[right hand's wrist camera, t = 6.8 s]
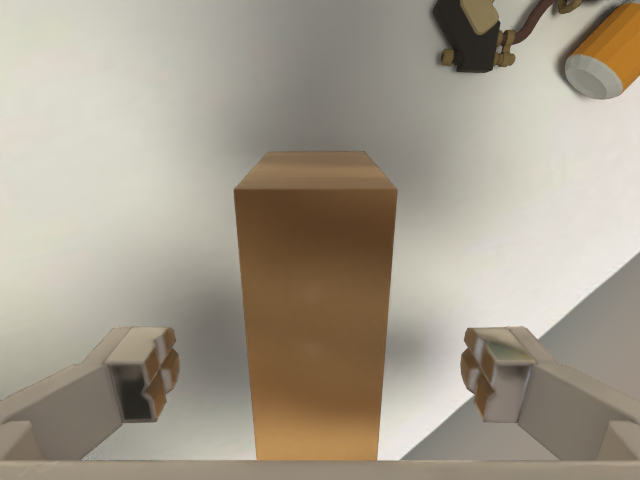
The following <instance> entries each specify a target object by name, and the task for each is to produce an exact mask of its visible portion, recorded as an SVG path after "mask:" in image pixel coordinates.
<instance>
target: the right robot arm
mask: <svg viewBox="0 0 640 480" xmlns="http://www.w3.org/2000/svg"><path fill="white" fill-rule="evenodd" d="M175 342H176V338H175V333H174V330H173V329H172V328H171V327H115V328H113V329H112V330H111V331H110V332H109V333H108V334H107V335H106V336H105V338H104V339H103V340H102V341H101V342H100V343H99V344H98V345H97V346H96V347H95V349H94V350H93V351H92V352H91V353H90V354H89V355H88V356H87V357H86V358H85V359H84V361H83V362H82V363H81V364H74V365H72V366H70V367H68V368H66V369H63V370H61V371H59V372H57V373H55V374H53V375H51V376H49V377H47V378H45V379H43V380H41V381H39V382H37V383H35V384H33V385H31V386H29V387H27V388H25V389H23V390H21V391H19V392H17V393H15V394H13V395H11V396H9V397H7V398H5V399H3V400H1V401H0V480H640V401H639V400H637V399H635V398H633V397H631V396H629V395H627V394H625V393H623V392H621V391H619V390H617V389H615V388H613V387H611V386H609V385H607V384H605V383H603V382H601V381H599V380H597V379H595V378H593V377H591V376H589V375H587V374H585V373H583V372H581V371H578V370H576V369H574V368H572V367H570V366H568V365H566V364H559V363H558V362H557V361H556V360H555V358H554V357H553V356H552V355H551V354H550V353H549V352H548V351H547V350H546V349H545V347H544V346H543V345H542V344H541V343H540V342H539V341H538V340H537V339H536V338H535V336H534V335H533V334H532V333H531V332H530V331H529V330H528V329H527V328H525V327H523V326H517V327H491V328H467V330H466V332H465V337H464V342H465V343H466V345H467V347H468V348H467V349H466V350H465V351H464V352H463V353H462V355H461V363H460V366H461V375H462V378H463V382H464V384H465V386H466V388H467V389H468V390H469V391H470V392H472V393H473V394H475V396H474V404H475V406H476V408H477V410H478V412H479V414H480V416H481V417H482V419H483V421H484V422H498V423H518V425H519V426H520V427H521V428H522V429H523V430H525V431H526V432H527V433H528V434H529V435H531V436H532V437H533V438H534V439H535V440H537V441H538V442H539V443H540V444H541V445H543V446H544V447H545V448H546V449H547V450H549V451H550V452H551V453H552V454H553V455H555V456H556V457H557V458H558V459H559V460H556V461H555V460H554V461H553V460H541V461H540V460H537V461H535V460H532V461H531V460H516V461H515V460H512V461H509V460H508V461H506V460H501V461H500V460H497V461H495V460H494V461H492V460H491V461H346V460H129V461H103V460H81V459H82V458H83V457H84V456H86V455H87V454H88V453H89V452H90V451H92V450H93V449H94V448H95V447H96V446H98V445H99V444H100V443H101V442H102V441H104V440H105V439H106V438H107V437H108V436H110V435H111V434H112V433H113V432H114V431H116V430H117V429H118V428H119V427H120V426H122V423H142V422H156V421H157V420H158V418H159V416H160V414H161V412H162V410H163V408H164V406H165V404H166V402H167V401H166V396H165V394H167V393H168V392H170V391H171V390H172V389H173V388H174V386H175V384H176V382H177V378H178V374H179V355H178V353H177V352H176V351H175V350H174V349H173V348H172V347H173V345H174V343H175Z"/></svg>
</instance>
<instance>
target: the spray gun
mask: <svg viewBox="0 0 640 480" xmlns="http://www.w3.org/2000/svg"><path fill="white" fill-rule="evenodd" d="M554 1H556V0H541V1H540V2H539V3H538V4H537V6H536V7H535V9H534V10H533V11H532V13H531V14H530V16H529V17H528V19H527V21H526V22H525V24H524V26H523V27H522V28H521V29H520V30H519V31H518V32H516V33H515V32H514V30H506V31H505V32H504V33H502V31H501V30H499V28H500V21H499V20H498V19H499V16H498V13H497V11H496V9H495V8H494V7H493V5H492V3H493V2H494V0H438V2H437V4H436V6H435V8H434V9H433V14H434V16H435V18H436V19H437V21H438V23H439V25H440V27H441V28H442V30H443V32H444V34H445V36H446V37H447V39H448V41H449V43H450V45H451V46H452V48H453V49H445V50H444V51H443V53H442V56H441V63H442V65H447V66H450V65H451V63H453V64H454V65H455V66H457V72H474V73H486V72H489V71H492V70H493V66H494V65H495V64H496V65H498V66H499V67H506V66H508V65H509V66H511V65H512V64H513V63H514V61H515V55H514V54H510V52H509V51H510V46H511V45H514V44H517V43H520V42H521V41H523V40H524V39H526V38H527V37H528V36H529V34H530V33H531V32H532V30H533V29H534V27H535V25H536V24H537V22H538V20H539V19H540V17H541V16H542V15H543V13H544V12H545V11H546V10H547V8H548V7H549V6H550V5H551V4H552V3H553V2H554ZM581 1H582V0H573V2H572V3H570V4H568V5H566V4H567V0H559V3H558V10H559V13H560V14H565V13H569V12H571V11H573V10H574V9H576V8H577V7H578V6H580V3H581ZM500 44H501V46H502V51H501V53H499V54H498V53H497V52H496V47H498V46H499V45H500ZM453 50H454V51H453ZM565 74H566V77H567V80H568V81H569V82H570V84H571V85H572V86H573V87H574V88H575V89H577V90H578V91H579V92H581V93H582V94H584V95H586V96H588V97H591V98H593V99H600V100H603V99H611V98H614V97H617V96H619V95H621V94H622V93H623V92H624V91H625V90H626V89H627V88H628V87H629V86H630V85H631V84H632V83H633V81H634V80H635V79H636V78H637V77H638V76H639V75H640V0H628V1H626V2H625V3H623V4H622V5H620V6H619V7H618V8H616V9H615V10H614V11H613V12H612V13H611V14H610V15H609V16H608V17H607V18H606V19H605V20H604V21H603V22H602V23H601V24H600V25H599V26H598V27H597V28H596V29H595V30H594V31H593V32H592V33H591V34H590V35H589V36H588V38H587V39H586V40H585V41H584V42H583V43H582V44H581V45H580V46H579V47H578V48H577V49H576V50H575V51H574V52H573V53H572V54H571V55H570V56H569V57H568V58H567V60H566V64H565Z"/></svg>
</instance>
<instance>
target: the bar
mask: <svg viewBox="0 0 640 480" xmlns="http://www.w3.org/2000/svg"><path fill="white" fill-rule="evenodd" d="M234 201H235V213H236V225H237V236H238V248H239V259H240V271H241V283H242V294H243V306H244V318H245V329H246V341H247V352H248V364H249V376H250V387H251V399H252V411H253V422H254V434H255V445H256V457H257V460H346V461H377V453H378V440H379V427H380V414H381V401H382V387H383V374H384V361H385V348H386V335H387V322H388V308H389V295H390V282H391V269H392V256H393V243H394V230H395V216H396V203H397V188H396V187H395V186H394V185H393V184H392V183H391V181H390V180H389V179H388V178H387V177H386V176H385V175H384V173H383V172H382V171H381V170H380V169H379V168H378V166H377V165H376V164H375V163H374V162H373V161H372V160H371V158H370V157H369V156H368V155H367V154H366V153H365V152H364V151H269V152H268V153H267V154H266V155H265V156H264V157H263V158H262V159H261V160H260V161H259V162H258V164H257V165H256V166H255V167H254V168H253V169H252V170H251V171H250V172H249V173H248V175H247V176H246V177H245V178H244V179H243V180H242V181H241V182H240V183H239V184H238V185H237V187H236V188H235V189H234Z"/></svg>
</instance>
